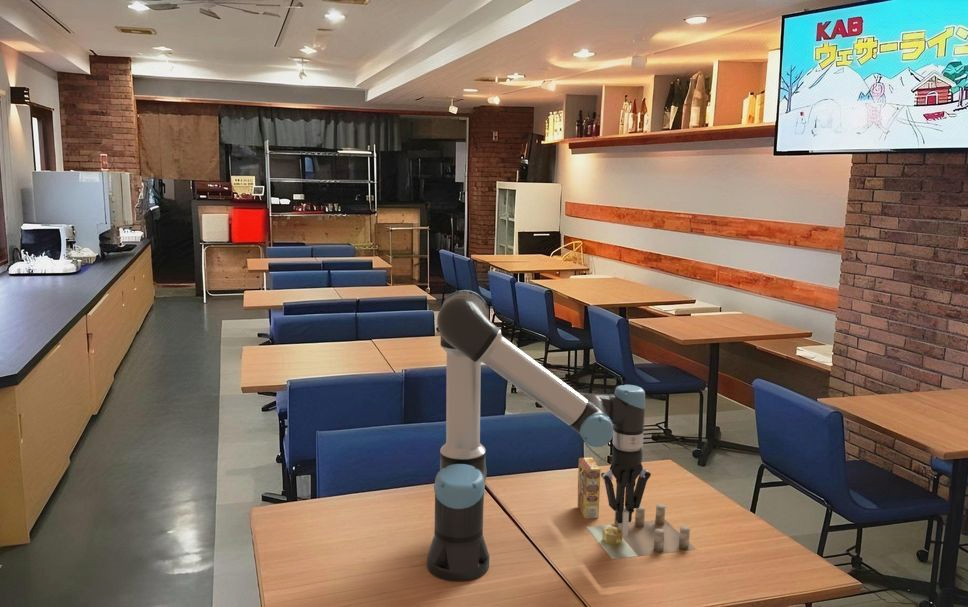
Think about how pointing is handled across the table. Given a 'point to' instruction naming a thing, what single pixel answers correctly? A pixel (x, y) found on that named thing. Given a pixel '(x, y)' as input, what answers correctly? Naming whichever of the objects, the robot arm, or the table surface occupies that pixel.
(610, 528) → the wooden star polyhedron
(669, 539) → the board
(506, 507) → the table surface
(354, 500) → the table surface
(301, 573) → the table surface
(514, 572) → the table surface
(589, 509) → the candy box
